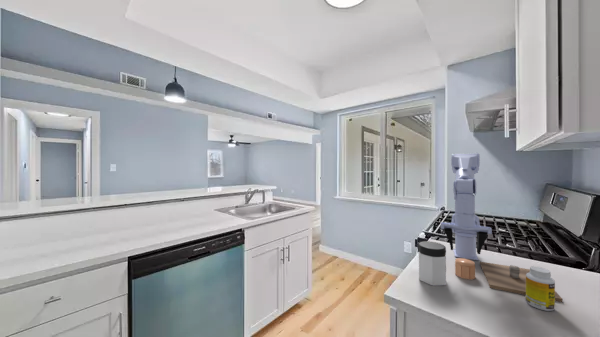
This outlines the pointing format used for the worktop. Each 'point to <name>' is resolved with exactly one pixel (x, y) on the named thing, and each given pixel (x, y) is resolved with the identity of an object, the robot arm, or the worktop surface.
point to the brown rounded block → (465, 268)
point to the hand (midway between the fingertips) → (464, 251)
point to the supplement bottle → (540, 288)
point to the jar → (432, 263)
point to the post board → (508, 278)
